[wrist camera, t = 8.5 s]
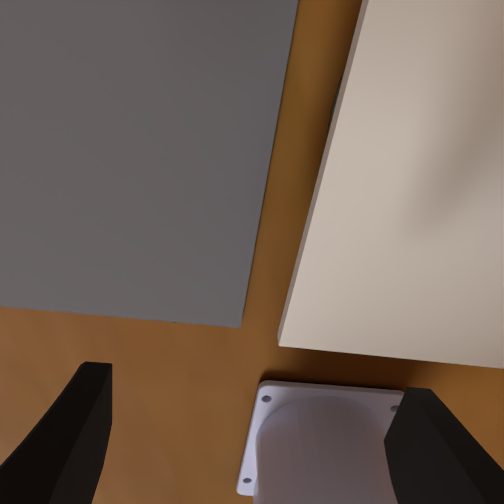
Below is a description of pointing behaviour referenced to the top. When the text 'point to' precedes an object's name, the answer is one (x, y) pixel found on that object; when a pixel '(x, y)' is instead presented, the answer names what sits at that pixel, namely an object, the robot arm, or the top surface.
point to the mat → (136, 153)
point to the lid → (410, 193)
